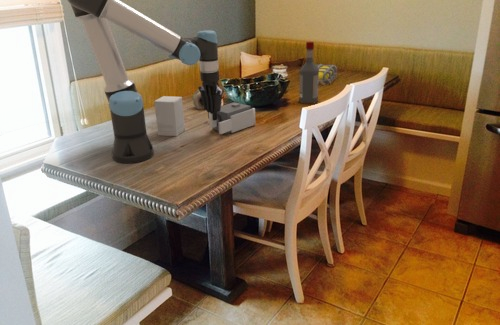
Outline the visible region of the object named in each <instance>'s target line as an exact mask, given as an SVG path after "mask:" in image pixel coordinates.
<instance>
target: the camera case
mask: <svg viewBox="0 0 500 325" xmlns="http://www.w3.org/2000/svg"><path fill="white" fill-rule="evenodd" d="M250 109H252V108H251V105H249V104H244V103H240V102H239V103H238V102H235V101H234V102H230V103H227V104H224V105H221V109H220V111H218V112H217V120H216V121H217V127H214V128H211V129H212V130H214V131H217V132H219V124H218V123H219V122H222V121H225V120H228V119H230V116H232V115H235V114H238V113H241V112H244V111H247V110H250ZM225 134H232V133H231V131H229V132H226V133H225Z"/></svg>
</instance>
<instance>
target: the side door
mask: <svg viewBox="0 0 500 325" xmlns="http://www.w3.org/2000/svg"><path fill="white" fill-rule="evenodd" d="M218 124H219V131H218V135H223V134H227V133H226V132H229V131H231V133H230V134H232V133H235V132H239V131H241V130H244V129H246V128H249V127H252V126H256V108H255V107H252V108H251V109H250V110H247V111H244V112H241V113H238V114H235V115H232V116H230V119H228V120H225V121H222V122H219V123H218Z"/></svg>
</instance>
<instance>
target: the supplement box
mask: <svg viewBox="0 0 500 325" xmlns="http://www.w3.org/2000/svg"><path fill="white" fill-rule="evenodd" d="M153 102H154V109H155V110H154V112H155V118H156V125H157V126H156V127H157V128H156V129H157V136H165V137H178V136H180V135H181V134H183V132H185V130H186V126H185V117H184V105H183V97H182V96H170V95H169V96H168V95H163V96H161V97H159V98H157V99H156V100H154V101H153Z"/></svg>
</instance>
